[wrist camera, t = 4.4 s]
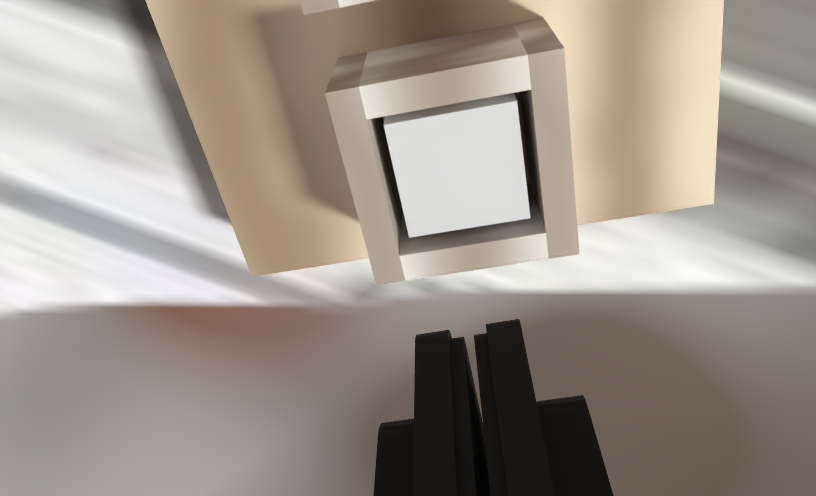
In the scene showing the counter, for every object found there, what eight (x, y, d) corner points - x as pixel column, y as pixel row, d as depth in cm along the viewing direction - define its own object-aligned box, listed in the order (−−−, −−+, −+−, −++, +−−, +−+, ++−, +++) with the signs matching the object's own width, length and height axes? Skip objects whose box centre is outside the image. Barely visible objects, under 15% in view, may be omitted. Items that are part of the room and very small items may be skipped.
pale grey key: (505, 70, 22) (516, 100, 19) (518, 177, 24) (530, 218, 21) (387, 92, 22) (383, 124, 20) (410, 195, 24) (409, 237, 22)
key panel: (701, -427, 18) (828, -547, 12) (686, 169, 27) (755, 255, 22) (86, -264, 20) (-44, -304, 14) (266, 238, 29) (230, 333, 24)
